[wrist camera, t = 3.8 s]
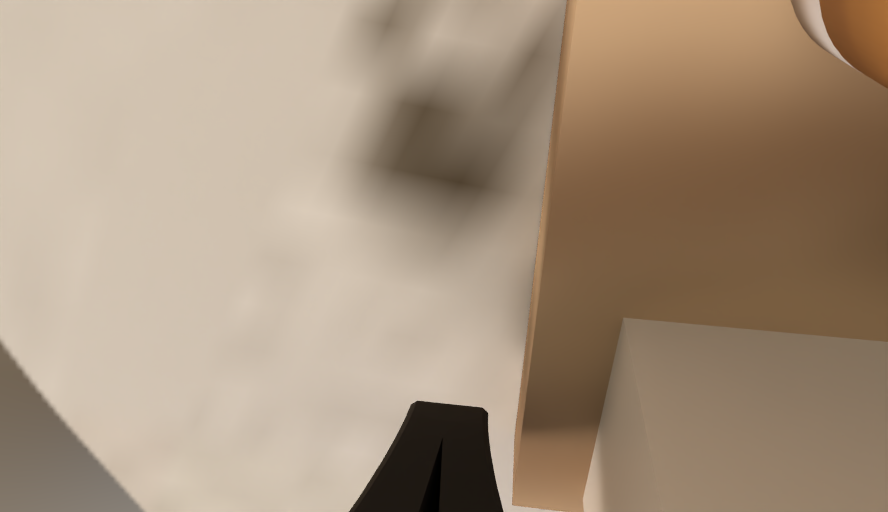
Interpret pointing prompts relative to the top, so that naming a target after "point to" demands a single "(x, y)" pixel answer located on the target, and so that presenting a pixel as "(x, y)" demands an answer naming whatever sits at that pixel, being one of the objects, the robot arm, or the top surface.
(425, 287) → the top surface
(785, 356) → the block
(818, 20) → the orange tube
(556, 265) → the subfloor panel
